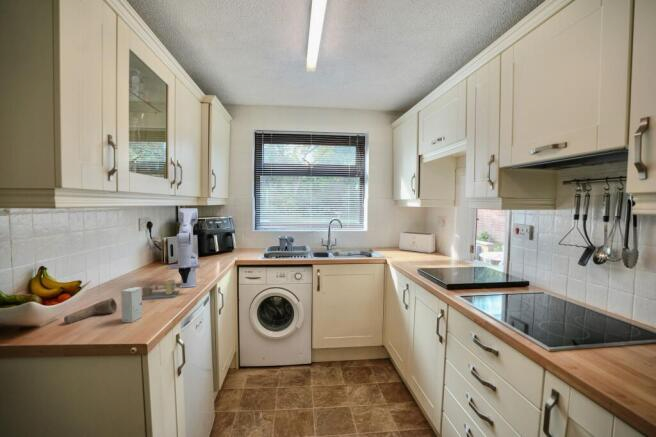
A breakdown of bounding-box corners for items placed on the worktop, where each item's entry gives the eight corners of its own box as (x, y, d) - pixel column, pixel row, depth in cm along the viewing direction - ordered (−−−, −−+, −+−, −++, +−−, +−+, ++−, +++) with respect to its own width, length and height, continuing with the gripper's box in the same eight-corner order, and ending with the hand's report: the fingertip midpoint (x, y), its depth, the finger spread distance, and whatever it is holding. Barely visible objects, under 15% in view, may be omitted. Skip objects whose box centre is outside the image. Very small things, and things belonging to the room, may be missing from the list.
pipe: (58, 312, 108) (79, 309, 106) (100, 298, 125) (119, 295, 123) (61, 329, 108) (82, 326, 106) (103, 312, 125) (122, 310, 123)
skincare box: (132, 322, 110) (131, 291, 110) (120, 322, 110) (120, 291, 110) (143, 316, 116) (142, 286, 116) (132, 316, 116) (131, 286, 116)
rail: (139, 300, 137) (139, 289, 137) (147, 294, 146) (146, 283, 146) (174, 297, 141) (174, 287, 140) (179, 291, 150) (179, 281, 150)
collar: (166, 294, 141) (165, 282, 141) (169, 291, 147) (169, 279, 147) (171, 294, 142) (171, 282, 142) (174, 290, 148) (174, 279, 148)
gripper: (166, 258, 140) (167, 285, 140) (198, 256, 144) (199, 283, 144) (170, 255, 147) (170, 282, 147) (201, 254, 151) (201, 280, 151)
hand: (185, 282), depth 146 cm, fingers closed
